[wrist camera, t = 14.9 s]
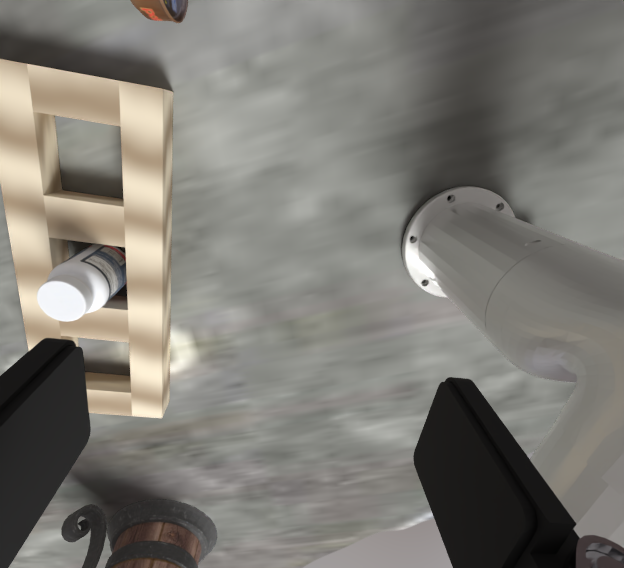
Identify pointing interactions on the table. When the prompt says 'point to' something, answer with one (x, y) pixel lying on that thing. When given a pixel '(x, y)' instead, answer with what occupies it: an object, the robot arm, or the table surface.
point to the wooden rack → (93, 220)
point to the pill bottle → (83, 282)
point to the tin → (162, 9)
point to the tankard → (145, 535)
